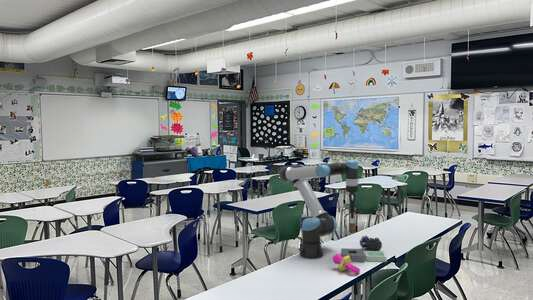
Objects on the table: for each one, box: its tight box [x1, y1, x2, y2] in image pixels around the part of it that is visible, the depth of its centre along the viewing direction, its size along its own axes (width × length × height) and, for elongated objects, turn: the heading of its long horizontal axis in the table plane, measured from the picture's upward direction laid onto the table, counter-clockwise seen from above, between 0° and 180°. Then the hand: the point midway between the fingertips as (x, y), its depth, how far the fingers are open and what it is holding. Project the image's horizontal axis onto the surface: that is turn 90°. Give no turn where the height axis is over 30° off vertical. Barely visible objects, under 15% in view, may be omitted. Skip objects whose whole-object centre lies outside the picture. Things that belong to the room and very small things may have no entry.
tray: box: [364, 250, 388, 263], centre depth 259 cm, size 12×10×3 cm
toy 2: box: [359, 235, 383, 251], centre depth 276 cm, size 9×9×15 cm
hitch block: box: [340, 247, 366, 263], centre depth 261 cm, size 14×14×4 cm
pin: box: [347, 207, 357, 234], centre depth 260 cm, size 5×5×15 cm
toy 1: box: [332, 253, 361, 274], centre depth 239 cm, size 10×18×10 cm, turn 46°
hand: (352, 222), depth 260 cm, fingers closed on pin, 4 cm apart
